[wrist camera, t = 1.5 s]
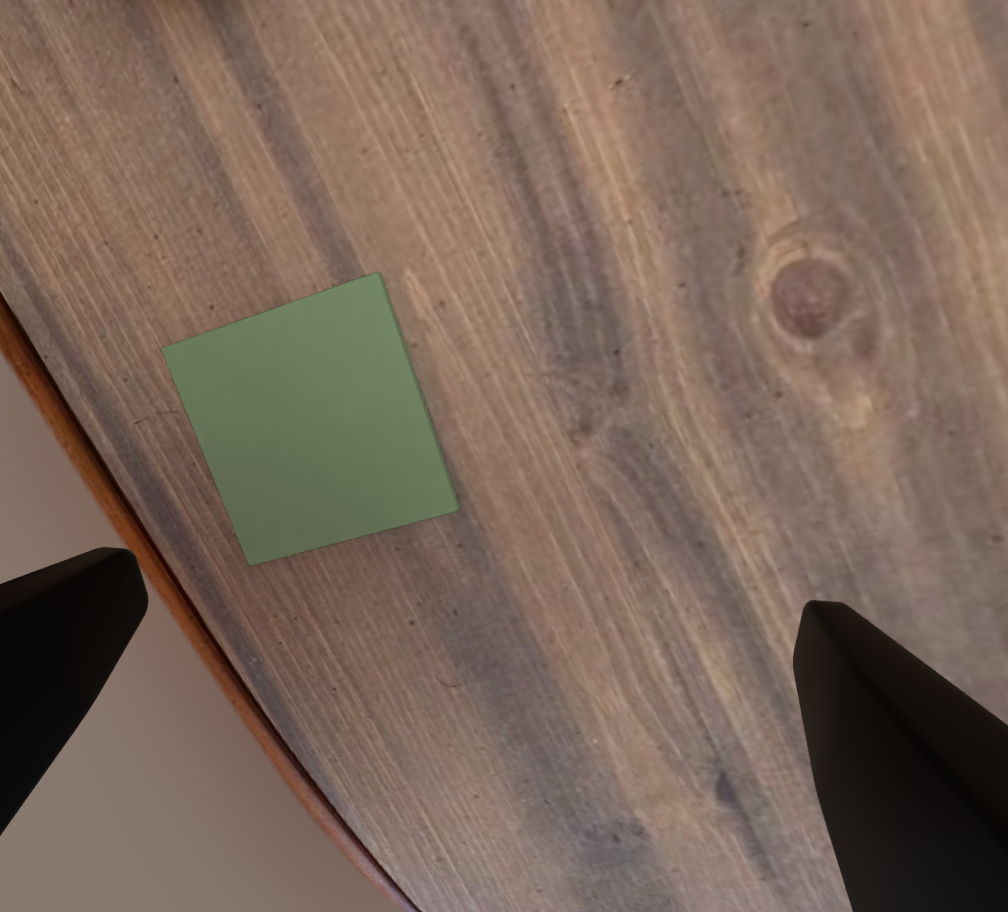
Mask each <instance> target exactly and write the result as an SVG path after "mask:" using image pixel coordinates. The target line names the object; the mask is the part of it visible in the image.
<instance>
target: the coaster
mask: <svg viewBox="0 0 1008 912" xmlns="http://www.w3.org/2000/svg"><path fill="white" fill-rule="evenodd" d="M161 351H162V353H163V356H164V358H165V361H166V363H167V366H168V368H169V371H170V373H171V375H172V378H173V380H174V383H175V385H176V388H177V390H178V393H179V395H180V398H181V400H182V403H183V405H184V407H185V410H186V412H187V415H188V417H189V420H190V422H191V425H192V427H193V430H194V432H195V435H196V437H197V439H198V442H199V444H200V447H201V449H202V452H203V454H204V457H205V459H206V462H207V464H208V467H209V469H210V472H211V474H212V476H213V479H214V481H215V484H216V486H217V489H218V491H219V494H220V496H221V499H222V501H223V504H224V506H225V508H226V511H227V513H228V516H229V518H230V521H231V523H232V526H233V528H234V531H235V533H236V536H237V538H238V540H239V543H240V545H241V548H242V550H243V553H244V555H245V558H246V560H247V563H248V565H249V566H252V565H256V564H260V563H263V562H267V561H271V560H275V559H278V558H282V557H286V556H290V555H294V554H297V553H301V552H305V551H309V550H313V549H316V548H320V547H324V546H328V545H331V544H335V543H339V542H343V541H347V540H350V539H354V538H358V537H362V536H366V535H369V534H373V533H377V532H381V531H384V530H388V529H392V528H396V527H400V526H403V525H407V524H411V523H415V522H419V521H422V520H426V519H430V518H434V517H437V516H441V515H445V514H449V513H453V512H456V511H458V510H459V508H460V505H459V502H458V499H457V496H456V493H455V490H454V487H453V485H452V482H451V479H450V476H449V473H448V470H447V467H446V464H445V461H444V458H443V455H442V452H441V449H440V446H439V443H438V440H437V437H436V434H435V431H434V428H433V425H432V422H431V419H430V416H429V413H428V410H427V407H426V404H425V402H424V399H423V396H422V393H421V390H420V387H419V384H418V381H417V378H416V375H415V372H414V369H413V366H412V363H411V360H410V357H409V354H408V351H407V348H406V345H405V342H404V339H403V336H402V333H401V330H400V327H399V324H398V321H397V319H396V316H395V313H394V310H393V307H392V304H391V301H390V298H389V295H388V292H387V289H386V286H385V283H384V280H383V277H382V274H381V273H380V272H375V273H372V274H370V275H367V276H364V277H361V278H358V279H355V280H353V281H350V282H347V283H344V284H341V285H338V286H336V287H333V288H330V289H327V290H324V291H322V292H319V293H316V294H313V295H310V296H307V297H305V298H302V299H299V300H296V301H293V302H290V303H288V304H285V305H282V306H279V307H276V308H273V309H271V310H268V311H265V312H262V313H259V314H257V315H254V316H251V317H248V318H245V319H242V320H240V321H237V322H234V323H231V324H228V325H225V326H223V327H220V328H217V329H214V330H211V331H209V332H206V333H203V334H200V335H197V336H194V337H192V338H189V339H186V340H183V341H180V342H177V343H175V344H172V345H169V346H166V347H163V348H161Z"/></svg>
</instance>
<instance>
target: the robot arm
mask: <svg viewBox="0 0 1008 912" xmlns="http://www.w3.org/2000/svg"><path fill="white" fill-rule="evenodd" d="M147 607H148V594H147V591H146V587H145V584H144V581H143V577H142V574H141V571H140V567H139V564H138V561H137V558H136V556H135V555H134V553H133V552H132V551H130V550H128V549H123V548H109V547H102V548H97V549H94V550H91V551H89V552H86V553H83V554H80V555H78V556H75V557H73V558H70V559H67V560H64V561H62V562H59V563H56V564H54V565H51V566H48V567H45V568H43V569H40V570H37V571H34V572H32V573H29V574H26V575H24V576H21V577H18V578H15V579H13V580H10V581H7V582H5V583H2V584H0V836H1V834H2V833H3V831H4V830H5V828H6V827H7V825H8V824H9V823H10V821H11V820H12V819H13V817H14V816H15V814H16V813H17V812H18V810H19V809H20V807H21V806H22V805H23V803H24V802H25V800H26V799H27V797H28V796H29V794H30V793H31V792H32V790H33V789H34V788H35V786H36V785H37V783H38V782H39V781H40V779H41V778H42V776H43V775H44V774H45V772H46V771H47V769H48V768H49V767H50V765H51V764H52V762H53V761H54V759H55V758H56V756H57V755H58V754H59V752H60V751H61V750H62V748H63V747H64V745H65V744H66V743H67V741H68V739H69V738H70V737H71V736H72V734H73V733H74V731H75V730H76V728H77V727H78V726H79V724H80V723H81V721H82V720H83V718H84V717H85V715H86V714H87V712H88V711H89V709H90V707H91V706H92V704H93V703H94V701H95V700H96V698H97V696H98V695H99V693H100V691H101V690H102V688H103V686H104V685H105V683H106V681H107V679H108V678H109V676H110V674H111V672H112V671H113V669H114V667H115V666H116V664H117V662H118V660H119V659H120V657H121V655H122V654H123V652H124V650H125V648H126V647H127V645H128V643H129V641H130V640H131V638H132V636H133V635H134V633H135V631H136V629H137V628H138V626H139V624H140V623H141V621H142V619H143V617H144V615H145V613H146V611H147ZM793 670H794V676H795V682H796V687H797V692H798V698H799V703H800V708H801V714H802V719H803V725H804V730H805V735H806V741H807V746H808V752H809V757H810V762H811V768H812V773H813V777H814V782H815V787H816V791H817V795H818V799H819V802H820V806H821V809H822V813H823V816H824V819H825V823H826V826H827V829H828V832H829V836H830V839H831V842H832V845H833V849H834V852H835V855H836V858H837V862H838V865H839V868H840V871H841V874H842V878H843V881H844V884H845V887H846V891H847V894H848V897H849V900H850V904H851V907H852V910H853V912H1008V725H1007V724H1005V723H1004V722H1003V721H1001V720H1000V719H999V718H997V717H996V716H995V715H993V714H992V713H991V712H989V711H988V710H987V709H985V708H984V707H983V706H981V705H980V704H979V703H977V702H976V701H975V700H973V699H972V698H971V697H969V696H968V695H967V694H965V693H964V692H963V691H961V690H960V689H959V688H957V687H956V686H955V685H953V684H952V683H951V682H949V681H948V680H947V679H945V678H944V677H943V676H941V675H940V674H939V673H937V672H936V671H935V670H933V669H932V668H931V667H929V666H928V665H927V664H925V663H924V662H923V661H921V660H920V659H919V658H917V657H916V656H915V655H913V654H912V653H911V652H909V651H908V650H907V649H905V648H904V647H903V646H901V645H900V644H899V643H897V642H896V641H895V640H893V639H892V638H890V637H889V636H888V635H886V634H885V633H884V632H882V631H881V630H880V629H878V628H877V627H876V626H874V625H873V624H872V623H870V622H869V621H868V620H866V619H865V618H864V617H862V616H861V615H860V614H858V613H857V612H856V611H854V610H853V609H852V608H850V607H849V606H848V605H846V604H844V603H841V602H832V601H818V600H811V601H809V602H808V603H806V605H805V607H804V609H803V612H802V617H801V621H800V626H799V630H798V635H797V639H796V644H795V648H794V654H793Z"/></svg>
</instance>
